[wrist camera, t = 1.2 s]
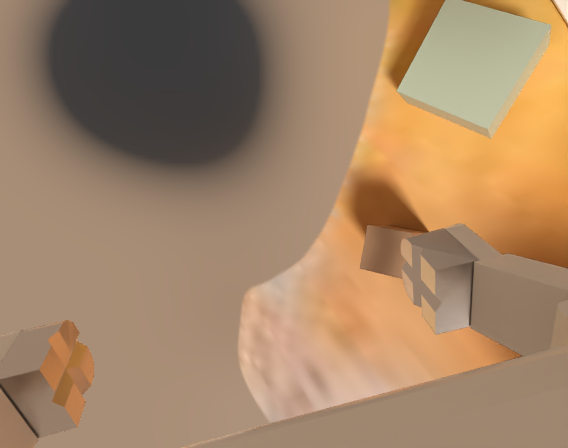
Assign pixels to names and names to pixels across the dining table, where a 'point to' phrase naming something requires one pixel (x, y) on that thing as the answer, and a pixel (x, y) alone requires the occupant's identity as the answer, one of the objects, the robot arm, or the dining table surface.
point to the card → (562, 8)
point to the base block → (474, 64)
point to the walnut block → (385, 249)
